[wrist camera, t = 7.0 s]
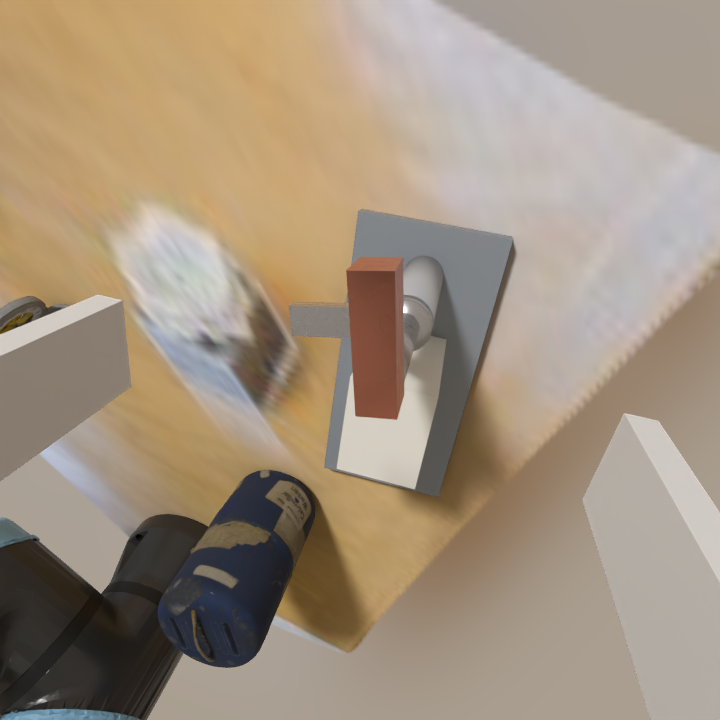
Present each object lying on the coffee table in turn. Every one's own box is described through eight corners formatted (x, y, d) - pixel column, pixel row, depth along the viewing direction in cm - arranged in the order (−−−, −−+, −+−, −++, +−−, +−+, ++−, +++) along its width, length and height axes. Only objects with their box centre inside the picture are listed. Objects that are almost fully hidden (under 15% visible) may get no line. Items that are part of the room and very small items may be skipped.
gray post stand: (439, 489, 47) (429, 583, 37) (327, 460, 49) (289, 543, 39) (512, 236, 36) (526, 275, 26) (361, 209, 37) (319, 235, 27)
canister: (241, 517, 56) (149, 667, 40) (239, 455, 52) (135, 595, 36) (317, 536, 54) (252, 700, 38) (321, 473, 50) (250, 628, 34)
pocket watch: (106, 366, 50) (28, 414, 42) (39, 348, 51) (-51, 392, 43) (97, 295, 47) (9, 332, 38) (25, 278, 48) (-77, 310, 39)
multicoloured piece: (297, 339, 30) (224, 422, 21) (284, 226, 27) (193, 269, 18) (432, 345, 28) (413, 439, 19) (435, 225, 25) (414, 271, 16)
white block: (427, 417, 43) (414, 489, 34) (364, 401, 43) (336, 468, 35) (446, 339, 39) (438, 397, 30) (377, 324, 40) (350, 377, 31)
